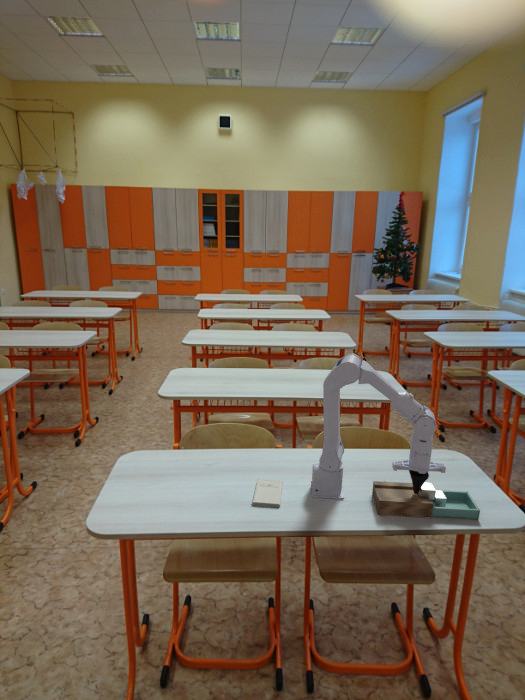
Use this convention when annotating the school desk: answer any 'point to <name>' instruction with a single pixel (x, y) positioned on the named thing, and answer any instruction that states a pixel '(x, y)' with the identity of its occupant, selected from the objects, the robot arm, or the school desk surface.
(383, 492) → the channel block
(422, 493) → the grey square block
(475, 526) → the school desk surface
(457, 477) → the school desk surface
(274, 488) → the external hard drive
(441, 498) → the light grey block
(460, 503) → the tray
